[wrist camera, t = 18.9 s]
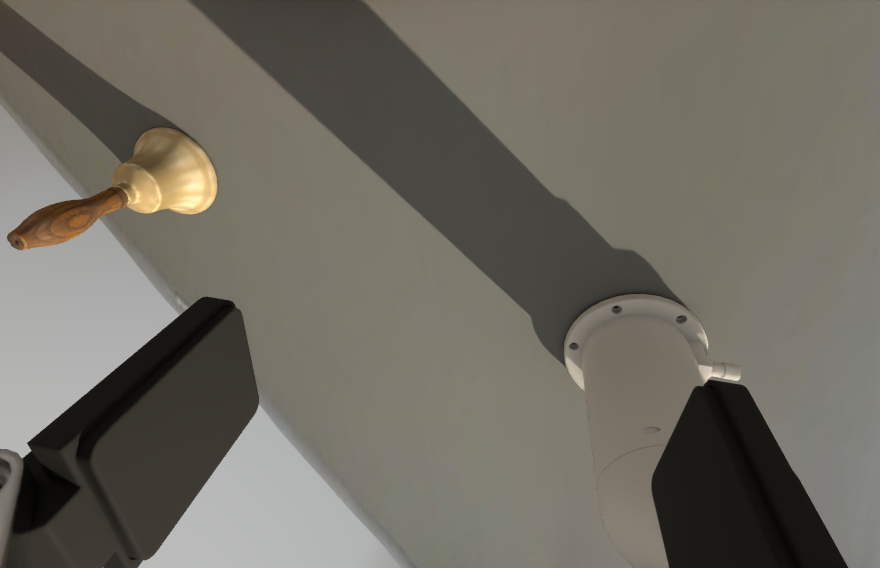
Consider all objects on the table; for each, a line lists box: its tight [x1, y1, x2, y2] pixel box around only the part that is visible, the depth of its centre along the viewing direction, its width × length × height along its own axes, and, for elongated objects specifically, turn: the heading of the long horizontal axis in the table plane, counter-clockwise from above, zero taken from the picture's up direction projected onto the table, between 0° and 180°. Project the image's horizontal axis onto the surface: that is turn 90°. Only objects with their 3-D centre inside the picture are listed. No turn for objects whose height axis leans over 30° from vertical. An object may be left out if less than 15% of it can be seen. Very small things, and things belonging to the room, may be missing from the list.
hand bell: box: [7, 127, 217, 250], centre depth 37 cm, size 8×8×16 cm
